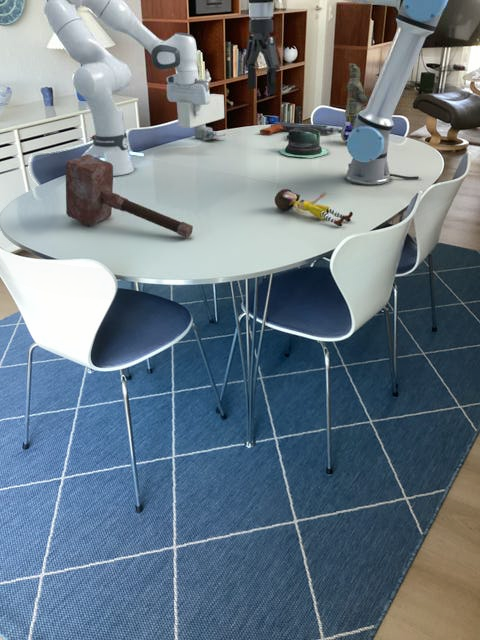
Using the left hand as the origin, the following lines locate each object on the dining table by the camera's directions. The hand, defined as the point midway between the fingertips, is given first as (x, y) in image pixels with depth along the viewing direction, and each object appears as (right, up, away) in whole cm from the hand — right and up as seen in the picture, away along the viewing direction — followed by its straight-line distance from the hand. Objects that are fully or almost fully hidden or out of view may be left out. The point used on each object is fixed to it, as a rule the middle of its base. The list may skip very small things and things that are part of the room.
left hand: (189, 114), depth 229 cm
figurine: (+42, -53, -60) cm, 91 cm away
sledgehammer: (-11, -58, -66) cm, 89 cm away
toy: (+72, -6, +18) cm, 75 cm away
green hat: (+48, -14, +7) cm, 50 cm away
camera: (+6, 0, +32) cm, 32 cm away
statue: (+76, +7, +41) cm, 87 cm away
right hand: (+28, -9, -45) cm, 53 cm away
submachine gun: (+47, +4, +36) cm, 60 cm away
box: (+5, 0, +8) cm, 9 cm away
